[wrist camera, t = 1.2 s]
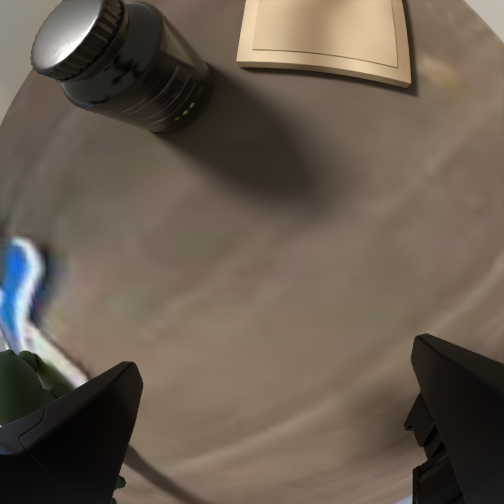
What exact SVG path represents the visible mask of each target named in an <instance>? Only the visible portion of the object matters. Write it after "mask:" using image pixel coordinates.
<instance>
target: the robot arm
mask: <svg viewBox="0 0 504 504" xmlns="http://www.w3.org/2000/svg"><path fill="white" fill-rule="evenodd" d="M411 363H412V366H413V369H414V371H415V374H416V377H417V380H418V383H419V386H420V389H421V391H420V394H419V395H418V396H417V398H416V400H415V403H414V405H413V407H412V409H411V411H410V413H409V415H408V418H407V420H406V422H405V424H404V427H405V430H407V431H410V430H413V431H414V434H415V437H416V440H417V442H418V445H419V446H420V447H423V448H424V451H425V454H426V456H427V459H428V460H427V461H426V462H425V463H423V464H422V465H420V466H417V467H416V468H414V469H413V502H412V504H504V364H502V363H500V362H497V361H495V360H492V359H490V358H487V357H485V356H482V355H480V354H477V353H475V352H472V351H470V350H467V349H465V348H462V347H460V346H457V345H455V344H452V343H450V342H447V341H445V340H442V339H440V338H437V337H435V336H432V335H430V334H427V333H425V334H421V335H417V336H416V337H415V339H414V343H413V349H412V354H411ZM142 390H143V380H142V378H141V375H140V373H139V370H138V368H137V366H136V364H135V363H134V362H128V361H123V362H121V363H119V364H118V365H116V366H114V367H113V368H111V369H109V370H107V371H106V372H104V373H102V374H101V375H99V376H97V377H95V378H94V379H92V380H90V381H88V382H87V383H85V384H83V385H81V386H80V387H78V388H76V389H74V390H73V391H71V392H69V393H67V394H66V395H64V396H62V397H60V398H58V399H57V400H55V401H53V402H51V403H49V404H48V405H46V406H44V407H42V408H40V409H38V410H37V411H35V412H33V413H31V414H29V415H27V416H25V417H23V418H21V419H18V420H16V421H14V422H12V423H9V424H7V425H5V426H2V427H0V504H110V503H111V500H112V496H113V493H114V489H115V486H116V483H117V479H118V476H119V473H120V469H121V466H122V463H123V460H124V457H125V453H126V450H127V447H128V444H129V441H130V438H131V435H132V432H133V429H134V425H135V422H136V418H137V413H138V408H139V404H140V399H141V395H142ZM409 425H410V426H409Z"/></svg>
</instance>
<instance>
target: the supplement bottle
mask: <svg viewBox="0 0 504 504" xmlns="http://www.w3.org/2000/svg"><path fill="white" fill-rule="evenodd" d="M30 59H31V65H32V66H33V69H34V70H35V71H36V72H37V73H39V74H42V75H45V76H48V77H51V78H52V79H53V80H55V81H58V82H61V86H62V90H63V92H64V94H65V95H66V97H67V98H68V100H69V101H70V102H71V103H72V104H74V105H75V106H77V107H79V108H82V109H84V110H87V111H90V112H94V113H97V114H100V115H103V116H106V117H109V118H113V119H116V120H119V121H122V122H125V123H128V124H131V125H134V126H137V127H139V128H142V129H146V130H149V131H152V132H161V133H162V132H170V131H174V130H177V129H180V128H182V127H184V126H185V125H187V124H189V123H190V122H191V121H193V120H194V119H195V118H196V117H197V116H198V115H199V114H200V113H201V111H202V110H203V109H204V107H205V105H206V104H207V102H208V99H209V97H210V94H211V89H212V77H211V73H210V70H209V68H208V66H207V64H206V63H205V61H204V60H203V59H202V57H201V56H200V55H199V54H198V53H197V51H196V50H195V49H194V48H193V47H192V46H191V44H190V43H189V42H188V41H187V40H186V39H185V38H184V36H183V35H182V34H181V33H180V32H179V31H178V30H177V28H176V27H175V26H174V25H173V24H172V23H171V22H170V21H169V20H168V19H167V17H166V16H165V15H164V14H163V13H162V12H161V11H160V10H159V9H157V8H156V7H155V6H153V5H151V4H149V3H146V2H142V1H123V0H63V1H62V2H61V3H60V4H59V5H58V6H56V8H55V9H54V10H53V11H52V12H51V13H50V14H49V16H48V17H47V19H46V20H45V21H44V23H43V25H42V26H41V27H40V29H39V31H38V34H37V35H36V37H35V41H34V43H33V47H32V50H31V58H30Z"/></svg>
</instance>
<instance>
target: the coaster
mask: <svg viewBox="0 0 504 504" xmlns="http://www.w3.org/2000/svg"><path fill="white" fill-rule="evenodd" d="M236 62H237V64H238V65H239V67H262V68H283V69H297V70H307V71H317V72H325V73H333V74H339V75H346V76H352V77H358V78H363V79H368V80H373V81H378V82H383V83H387V84H391V85H396V86H400V87H404V88H407V87H408V86H409V85H410V84H411V74H410V59H409V48H408V39H407V31H406V23H405V16H404V10H403V4H402V0H246V5H245V11H244V17H243V23H242V29H241V35H240V41H239V47H238V54H237V60H236Z"/></svg>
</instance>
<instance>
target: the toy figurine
mask: <svg viewBox="0 0 504 504" xmlns="http://www.w3.org/2000/svg"><path fill="white" fill-rule="evenodd" d="M37 370H38V364H37V360H36V358H35V356H34V355H33V354H32V353H31V352H30V351H22V352H20V353H19V354H18V355H16V354H15V353H14V351H13V350H10V349H8V350H6V351H5V352H4V351H3V352H0V425H1V426H5V425H7V424H9V423H12V422H14V421H16V420H18V419H21V418H23V417H25V416H27V415H29V414H31V413H33V412H35V411H37V410H38V409H40V408H42V407H44V406H46V405H48V404H49V403H51V402H53V401H55V400H57V399H58V398H60V397H62V396H64V395H66V394H67V393H69V391H68V390H67V389H66V387H64V386H61V385H56V386H54V387H53V388H52V389H51V391H50V390H46V389H43V387H42V384H41V382H40V379H39V377H38V376H37V374H36V372H37ZM125 484H126V482H125V479H124V478H123V477H121V476H120V475H119V476H118V479H117V483H116V486H115V489H114V490H116V489H117V488H123V487H124V486H125ZM110 504H117V502H116V500H115V499H114V498H112V500H111V503H110Z"/></svg>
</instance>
